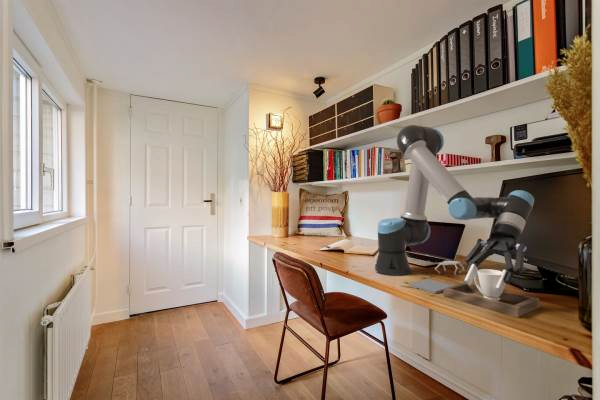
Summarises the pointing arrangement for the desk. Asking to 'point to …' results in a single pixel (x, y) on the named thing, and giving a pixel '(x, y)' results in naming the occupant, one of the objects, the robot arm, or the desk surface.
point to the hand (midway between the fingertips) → (482, 286)
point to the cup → (488, 283)
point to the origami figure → (450, 264)
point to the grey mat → (430, 285)
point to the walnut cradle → (522, 308)
